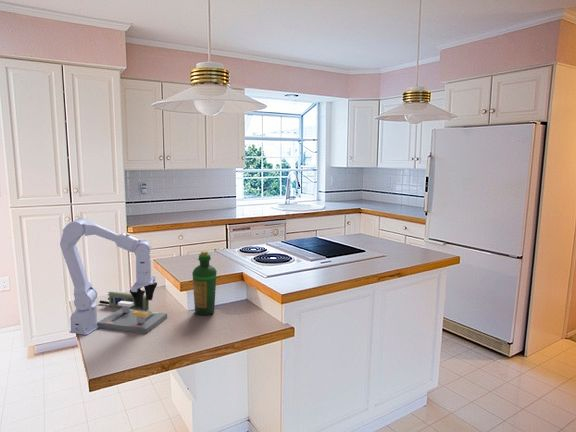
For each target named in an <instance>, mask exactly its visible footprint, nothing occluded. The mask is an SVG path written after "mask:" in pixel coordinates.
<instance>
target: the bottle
mask: <svg viewBox="0 0 576 432" xmlns="http://www.w3.org/2000/svg"><path fill="white" fill-rule="evenodd" d="M197 260H198V262H199V265H197V266H196V267H195V268H194V269H193V271H192V288H193V303H194V312H195V314H197V315H199V316H208V315H213V313H215V308H216V307H215V306H216V304H215V303H216V287H217V273H218V272H217V270H216V268H215V267H214V266H212V265H210V261H211V260H212V259H211V254H210V253H209V251H208V250H201V251H200V253H199V254H198V259H197Z"/></svg>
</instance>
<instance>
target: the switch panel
mask: <svg viewBox="0 0 576 432" xmlns="http://www.w3.org/2000/svg"><path fill="white" fill-rule="evenodd" d="M134 311H142V310H133V309H130V312H128V313H123V312H122V308H118V309H117V310H116V311H114V312H112V313H110V314H109V315H107V316H105V317H104V318H103V319H100V321H97V326H100V327H99V328H100V329H108V330H117V331H125V332H133V333H138V334H148V333H149V332H151V331H152V330H153V329H155V328H156V327H157V326H159V325H160V324H161V323H162V322H164V321H165V320H167V319H168V313H166V312H159V311H158V312H157V311H151V310H150V311H149V310H147V311H144V312H149V315H148V316H147V317H145V322H144V323H142V324H141V323H137V316H132V313H133V312H134Z"/></svg>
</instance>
